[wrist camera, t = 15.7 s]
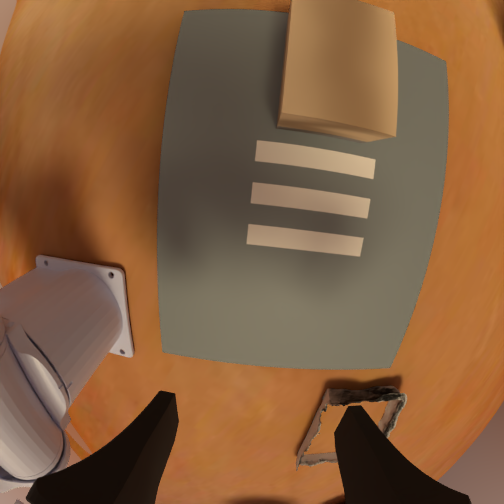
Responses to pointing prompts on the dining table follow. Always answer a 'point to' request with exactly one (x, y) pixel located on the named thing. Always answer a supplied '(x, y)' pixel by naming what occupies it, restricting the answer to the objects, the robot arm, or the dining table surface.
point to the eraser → (339, 71)
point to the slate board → (289, 208)
